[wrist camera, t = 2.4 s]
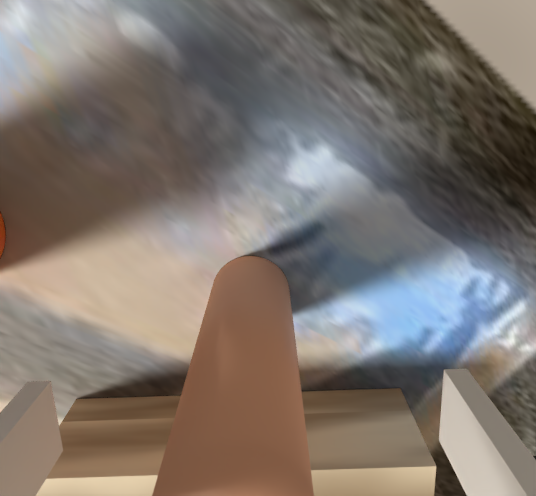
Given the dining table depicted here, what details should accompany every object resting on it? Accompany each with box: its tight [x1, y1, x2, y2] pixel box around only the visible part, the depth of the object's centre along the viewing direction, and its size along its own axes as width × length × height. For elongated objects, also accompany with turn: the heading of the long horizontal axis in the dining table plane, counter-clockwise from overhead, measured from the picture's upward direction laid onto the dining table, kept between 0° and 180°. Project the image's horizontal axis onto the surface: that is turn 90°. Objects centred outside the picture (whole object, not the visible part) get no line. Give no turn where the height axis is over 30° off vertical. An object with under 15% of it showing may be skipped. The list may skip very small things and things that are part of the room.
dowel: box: [152, 256, 314, 496], centre depth 19 cm, size 4×4×14 cm
